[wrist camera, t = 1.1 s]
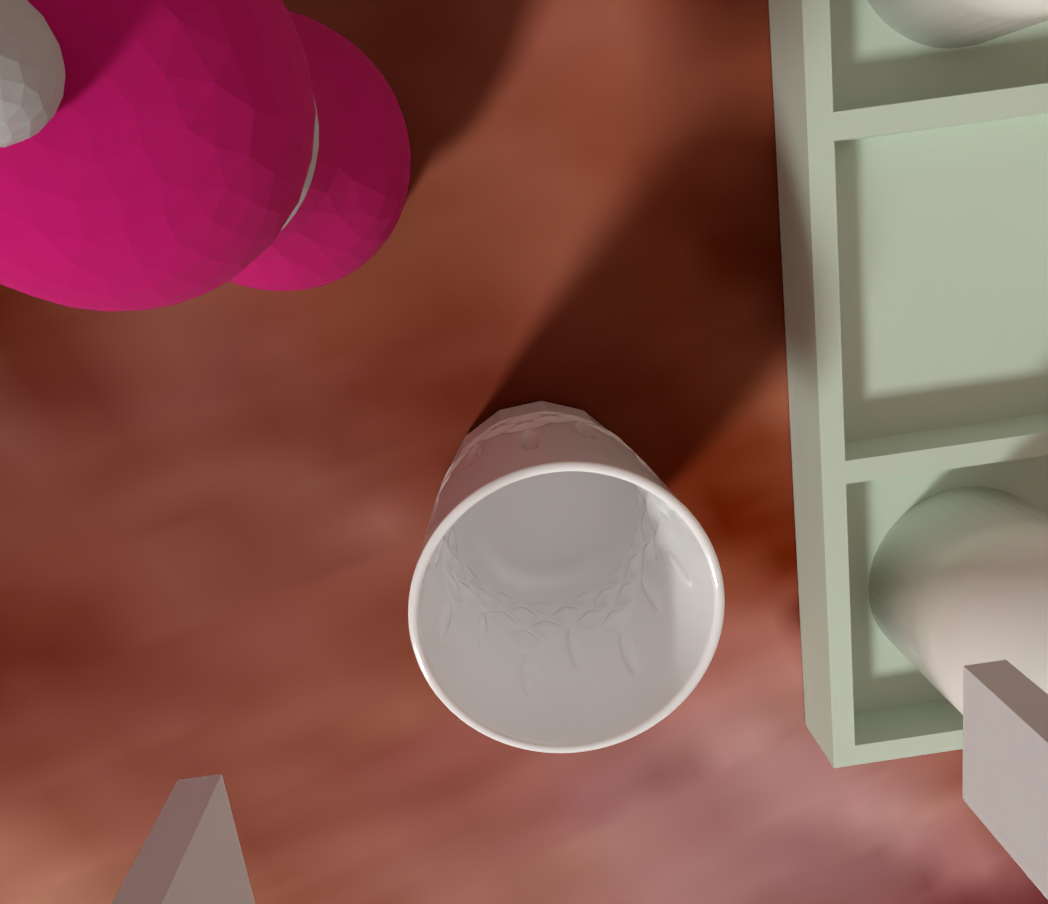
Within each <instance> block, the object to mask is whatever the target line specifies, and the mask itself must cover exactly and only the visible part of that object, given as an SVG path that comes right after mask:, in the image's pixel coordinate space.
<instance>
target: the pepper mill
mask: <svg viewBox="0 0 1048 904" xmlns="http://www.w3.org/2000/svg"><path fill="white" fill-rule="evenodd" d="M410 176H411V157H410V143H409V138H408V133H407V127H406V122H405V119H404V117H403V114H402V111H401V109H400V106H399V104H398V101H397V99H396V96H395V94H394V93H393V91H392V89H391V88H390V86H389V84H388V82H387V81H386V79H385V77H384V76H383V75H382V73H381V72H380V71H379V70H378V68H377V67H376V66H375V65H374V63H373V62H372V61H371V60H370V58H368V57H367V56H366V55H365V54H364V53H363V52H362V51H361V50H360V49H359V48H357V47H356V46H355V45H354V44H353V43H352V42H350V41H349V40H347V39H346V38H344V37H343V36H341V35H340V34H338V33H337V32H335V31H334V30H332V29H331V28H329V27H328V26H326V25H324V24H322V23H320V22H318V21H316V20H314V19H312V18H310V17H308V16H305V15H302V14H299V13H295V12H292V11H289V10H287V9H286V7H285V5H284V3H283V1H282V0H0V284H2V285H4V286H7V287H9V288H12V289H15V290H18V291H20V292H23V293H26V294H29V295H31V296H34V297H37V298H40V299H44V300H47V301H51V302H54V303H58V304H61V305H65V306H68V307H73V308H81V309H89V310H98V311H133V310H147V309H153V308H158V307H164V306H169V305H175V304H178V303H181V302H183V301H186V300H189V299H192V298H195V297H198V296H200V295H203V294H205V293H207V292H209V291H211V290H213V289H215V288H217V287H219V286H220V285H222V284H224V283H226V282H228V281H231V282H233V283H236V284H239V285H243V286H247V287H251V288H255V289H262V290H273V291H291V290H305V289H310V288H314V287H319V286H323V285H326V284H329V283H331V282H334V281H336V280H339V279H341V278H343V277H345V276H347V275H348V274H350V273H352V272H353V271H355V270H356V269H358V268H360V267H361V266H362V265H363V264H364V263H366V262H367V261H368V260H369V259H370V258H371V257H372V256H374V255H375V254H376V252H377V251H378V250H379V249H380V248H381V246H382V245H383V244H384V243H385V241H386V240H387V239H388V238H389V236H390V234H391V232H392V231H393V229H394V227H395V225H396V224H397V222H398V220H399V217H400V215H401V212H402V209H403V207H404V204H405V201H406V197H407V192H408V186H409V181H410Z"/></svg>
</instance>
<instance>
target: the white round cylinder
mask: <svg viewBox="0 0 1048 904" xmlns="http://www.w3.org/2000/svg"><path fill="white" fill-rule="evenodd" d="M867 1H868V2H869V4H870V5H871V7H872V8H873V10H874V11H875V13H876V14H877V15H878V16H879V17H880V18H881V19H882V20H883V21H884V22H885V23H886V24H887V25H888V26H889V27H891V28H892V29H893V30H894V31H895V32H897V33H899V34H900V35H902V36H904V37H905V38H907V39H909V40H912V41H914V42H917V43H919V44H922V45H926V46H930V47H934V48H946V49H952V48H964V47H969V46H974V45H978V44H981V43H984V42H987V41H990V40H993V39H995V38H998V37H1001V36H1004V35H1007V34H1010V33H1013V32H1016V31H1018V30H1021V29H1024V28H1027V27H1030V26H1033V25H1036V24H1039V23H1041V22H1044V21H1047V20H1048V0H867Z"/></svg>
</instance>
